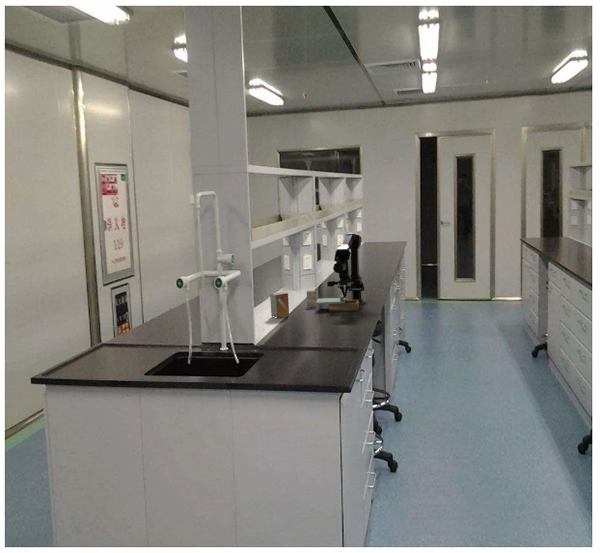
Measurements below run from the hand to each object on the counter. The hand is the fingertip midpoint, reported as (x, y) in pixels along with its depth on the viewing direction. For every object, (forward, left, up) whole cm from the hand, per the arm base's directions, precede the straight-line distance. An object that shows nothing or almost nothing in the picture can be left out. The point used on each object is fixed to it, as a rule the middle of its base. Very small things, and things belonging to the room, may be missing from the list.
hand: (345, 297), depth 335 cm
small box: (+16, -35, -7) cm, 39 cm away
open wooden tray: (0, -1, -6) cm, 6 cm away
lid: (0, -8, -2) cm, 8 cm away
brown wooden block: (-12, -21, -6) cm, 25 cm away
